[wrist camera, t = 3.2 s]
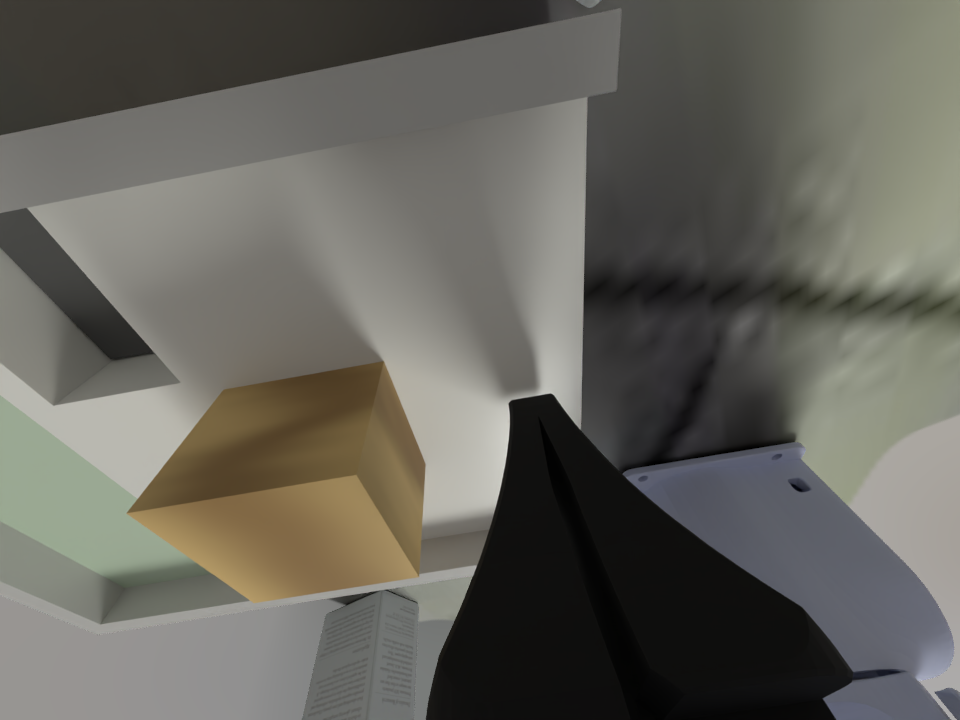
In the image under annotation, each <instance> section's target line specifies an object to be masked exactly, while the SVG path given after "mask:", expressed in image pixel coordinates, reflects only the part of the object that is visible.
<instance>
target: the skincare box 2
mask: <svg viewBox="0 0 960 720" xmlns="http://www.w3.org/2000/svg"><path fill="white" fill-rule="evenodd" d="M576 1H577V2H579V3H580V4H582V5H583V6H586V7H588V8H591V7H594V6H595V5H596V4H598V3H599V2H600V1H601V0H576Z"/></svg>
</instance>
